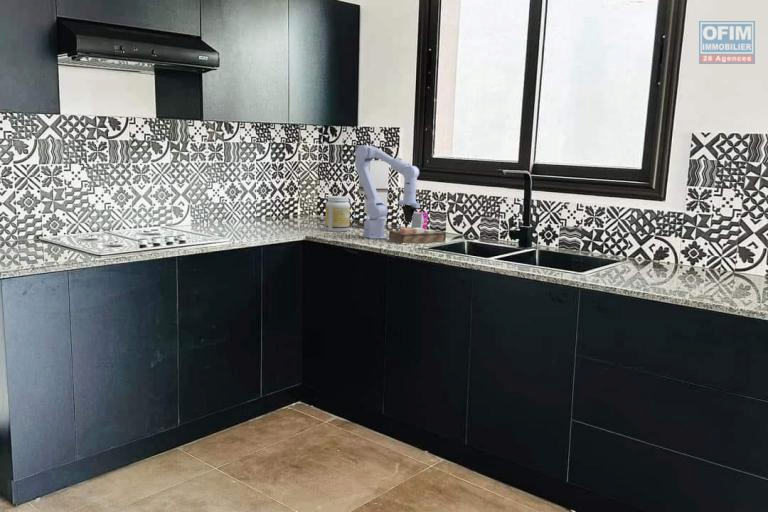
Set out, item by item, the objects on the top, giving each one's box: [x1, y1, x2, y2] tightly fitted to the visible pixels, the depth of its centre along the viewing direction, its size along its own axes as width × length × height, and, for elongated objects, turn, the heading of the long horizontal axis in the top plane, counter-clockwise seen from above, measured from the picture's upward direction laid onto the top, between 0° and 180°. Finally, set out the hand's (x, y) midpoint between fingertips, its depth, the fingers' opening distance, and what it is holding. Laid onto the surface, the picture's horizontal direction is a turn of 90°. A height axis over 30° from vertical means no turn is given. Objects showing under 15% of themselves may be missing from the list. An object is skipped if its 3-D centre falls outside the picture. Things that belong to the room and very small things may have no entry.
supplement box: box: [411, 211, 429, 230], centre depth 343 cm, size 6×6×12 cm
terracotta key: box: [399, 227, 413, 233], centre depth 320 cm, size 4×4×4 cm
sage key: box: [424, 229, 436, 233], centre depth 327 cm, size 4×4×4 cm
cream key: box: [410, 227, 424, 233], centre depth 324 cm, size 4×4×4 cm
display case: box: [356, 159, 390, 230], centre depth 358 cm, size 11×11×35 cm
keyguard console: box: [388, 229, 447, 244], centre depth 324 cm, size 24×12×4 cm, turn 122°
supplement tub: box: [324, 195, 351, 233], centre depth 344 cm, size 12×12×17 cm
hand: (408, 221), depth 320 cm, fingers closed
